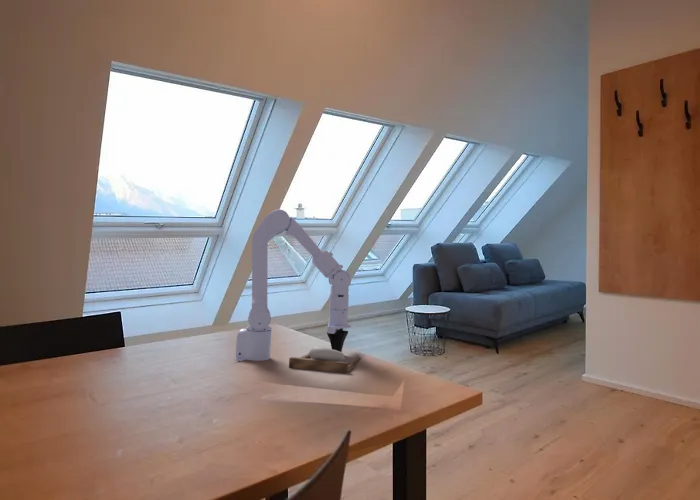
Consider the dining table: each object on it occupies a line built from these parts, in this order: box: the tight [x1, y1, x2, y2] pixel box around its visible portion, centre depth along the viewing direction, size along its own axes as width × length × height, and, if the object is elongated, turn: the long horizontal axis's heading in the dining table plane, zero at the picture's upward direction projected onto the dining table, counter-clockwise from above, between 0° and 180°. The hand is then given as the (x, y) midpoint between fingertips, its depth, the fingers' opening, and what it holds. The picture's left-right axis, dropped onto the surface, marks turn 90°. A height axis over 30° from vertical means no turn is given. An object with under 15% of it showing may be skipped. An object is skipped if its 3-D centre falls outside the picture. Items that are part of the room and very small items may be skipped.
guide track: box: [288, 353, 363, 374], centre depth 134 cm, size 16×18×2 cm
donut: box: [308, 346, 346, 362], centre depth 131 cm, size 10×4×10 cm
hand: (336, 355), depth 143 cm, fingers closed
